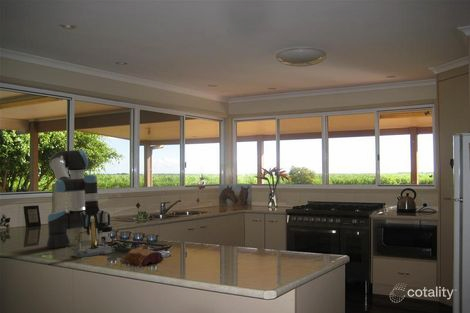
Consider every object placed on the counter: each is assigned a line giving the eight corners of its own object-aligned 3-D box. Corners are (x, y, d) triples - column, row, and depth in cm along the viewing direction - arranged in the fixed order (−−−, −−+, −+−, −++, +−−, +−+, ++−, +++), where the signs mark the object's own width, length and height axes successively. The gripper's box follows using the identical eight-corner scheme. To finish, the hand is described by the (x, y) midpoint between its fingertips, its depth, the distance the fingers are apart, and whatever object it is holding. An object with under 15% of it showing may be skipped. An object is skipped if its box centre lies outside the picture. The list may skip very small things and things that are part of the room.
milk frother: (106, 230, 379) (105, 212, 379) (88, 231, 379) (87, 213, 379) (111, 227, 393) (110, 210, 393) (93, 228, 393) (92, 211, 393)
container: (110, 247, 291) (109, 226, 291) (99, 247, 292) (98, 227, 293) (116, 244, 298) (115, 225, 299) (105, 245, 300) (104, 225, 300)
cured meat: (143, 255, 256) (142, 243, 256) (170, 260, 239) (169, 247, 239) (115, 262, 244) (114, 249, 244) (141, 268, 226) (140, 254, 226)
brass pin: (90, 248, 270) (89, 221, 270) (96, 247, 271) (94, 220, 272) (91, 249, 267) (90, 221, 267) (97, 248, 269) (95, 221, 269)
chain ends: (73, 255, 268) (72, 249, 268) (110, 250, 279) (110, 244, 280) (76, 258, 259) (76, 251, 259) (115, 252, 271) (114, 246, 271)
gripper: (78, 201, 263) (80, 242, 262) (106, 199, 271) (108, 238, 270) (76, 201, 269) (78, 241, 269) (103, 199, 277) (105, 237, 277)
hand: (93, 239), depth 269 cm, fingers closed on brass pin, 3 cm apart
